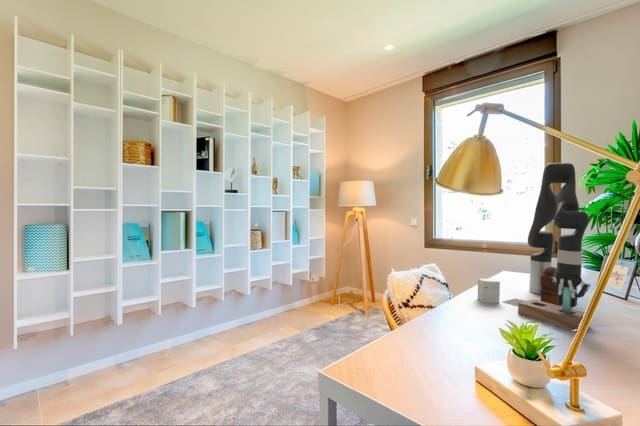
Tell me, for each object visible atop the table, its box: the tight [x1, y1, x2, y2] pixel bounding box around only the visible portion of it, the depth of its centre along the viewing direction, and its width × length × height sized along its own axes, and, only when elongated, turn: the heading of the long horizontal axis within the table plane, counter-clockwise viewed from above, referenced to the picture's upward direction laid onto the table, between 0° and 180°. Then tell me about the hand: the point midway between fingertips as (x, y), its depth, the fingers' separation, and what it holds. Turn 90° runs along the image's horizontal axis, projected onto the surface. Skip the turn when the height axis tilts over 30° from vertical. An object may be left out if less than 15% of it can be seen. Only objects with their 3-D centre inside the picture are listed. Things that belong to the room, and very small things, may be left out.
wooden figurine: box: [540, 266, 561, 306], centre depth 146 cm, size 12×6×18 cm, turn 125°
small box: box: [477, 278, 501, 304], centre depth 150 cm, size 8×6×10 cm
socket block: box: [517, 298, 585, 332], centre depth 127 cm, size 12×20×5 cm, turn 30°
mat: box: [502, 298, 525, 308], centre depth 147 cm, size 12×12×1 cm
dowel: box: [561, 287, 573, 314], centre depth 122 cm, size 3×3×10 cm
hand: (567, 305), depth 123 cm, fingers closed on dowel, 3 cm apart
